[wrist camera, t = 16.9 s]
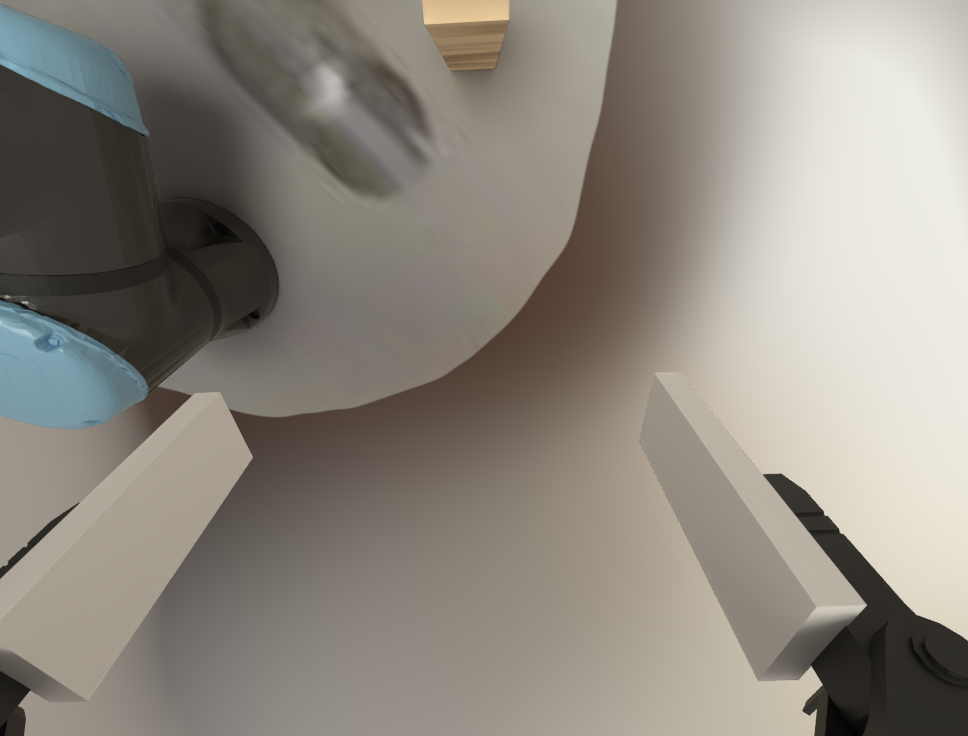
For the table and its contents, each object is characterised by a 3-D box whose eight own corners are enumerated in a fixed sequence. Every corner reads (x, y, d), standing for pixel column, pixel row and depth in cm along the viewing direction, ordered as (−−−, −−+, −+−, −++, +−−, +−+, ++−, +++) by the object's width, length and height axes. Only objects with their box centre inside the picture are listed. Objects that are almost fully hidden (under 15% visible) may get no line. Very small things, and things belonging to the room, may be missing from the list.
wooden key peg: (495, 68, 35) (509, 19, 18) (450, 70, 35) (424, 24, 18) (493, 9, 33) (508, -107, 16) (446, 11, 33) (412, -102, 16)
